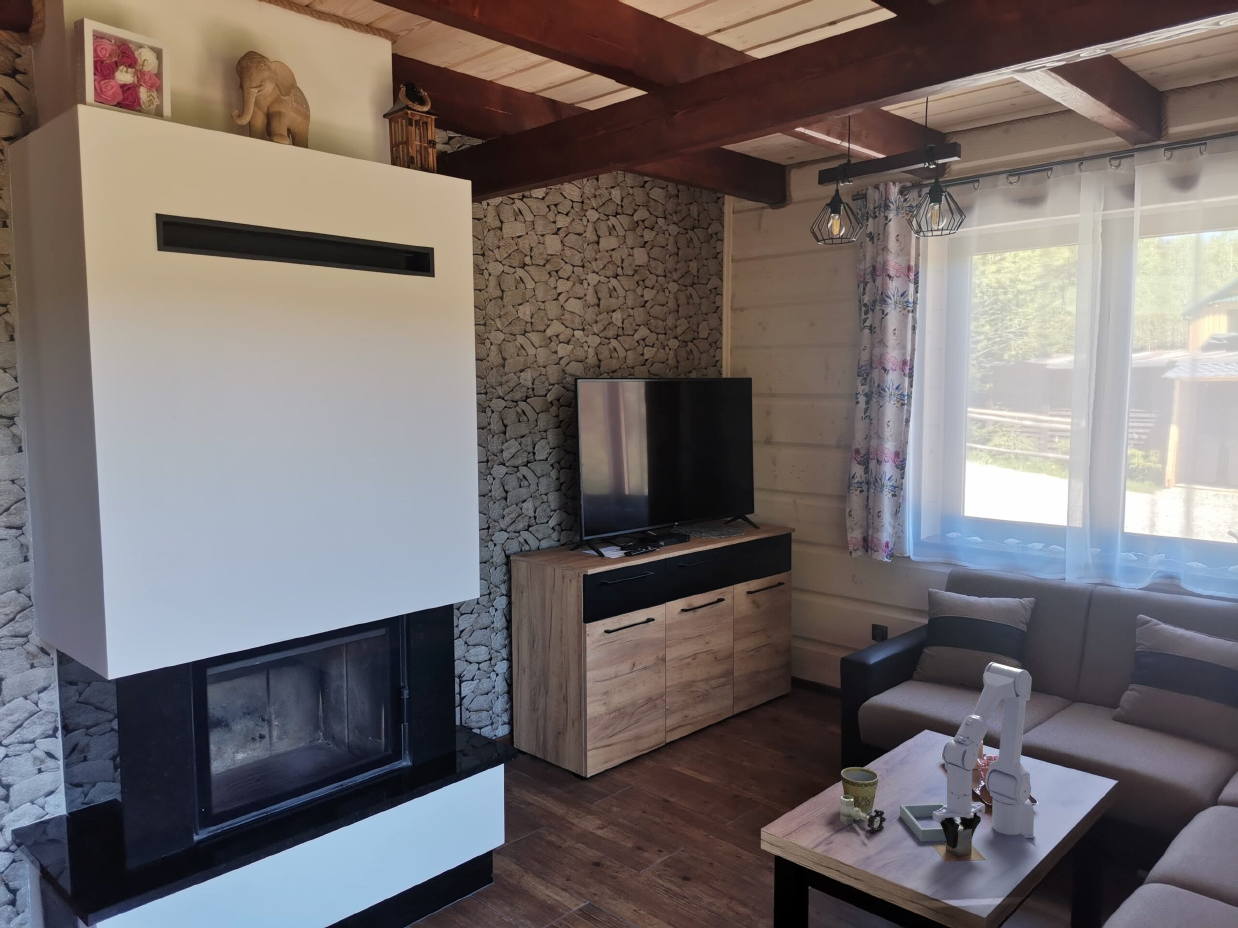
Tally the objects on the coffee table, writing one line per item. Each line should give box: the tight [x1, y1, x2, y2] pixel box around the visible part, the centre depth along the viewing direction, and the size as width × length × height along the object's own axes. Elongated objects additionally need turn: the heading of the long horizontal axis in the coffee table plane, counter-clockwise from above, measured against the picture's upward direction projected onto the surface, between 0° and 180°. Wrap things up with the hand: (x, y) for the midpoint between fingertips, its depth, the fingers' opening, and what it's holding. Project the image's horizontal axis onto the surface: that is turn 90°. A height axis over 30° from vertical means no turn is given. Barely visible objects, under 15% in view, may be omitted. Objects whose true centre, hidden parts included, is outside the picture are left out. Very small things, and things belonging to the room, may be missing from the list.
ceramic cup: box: [840, 766, 879, 816], centre depth 241 cm, size 13×10×10 cm
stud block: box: [932, 843, 987, 862], centre depth 215 cm, size 10×8×4 cm
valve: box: [838, 794, 887, 835], centre depth 230 cm, size 7×7×12 cm
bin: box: [899, 802, 961, 842], centre depth 228 cm, size 12×14×4 cm
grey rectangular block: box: [945, 821, 973, 858], centre depth 215 cm, size 4×4×6 cm
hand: (958, 844), depth 215 cm, fingers closed on grey rectangular block, 4 cm apart
